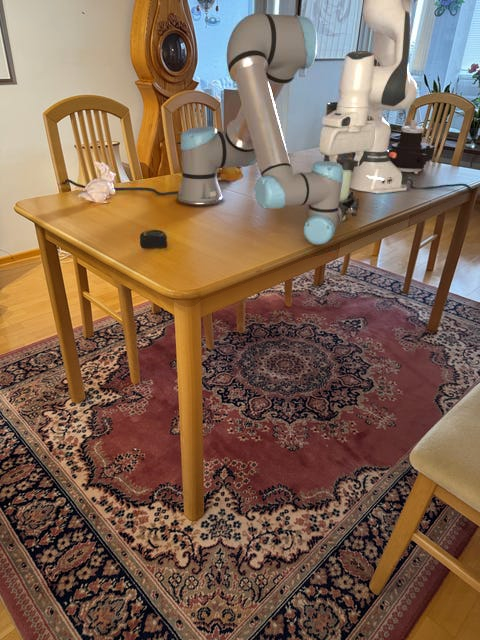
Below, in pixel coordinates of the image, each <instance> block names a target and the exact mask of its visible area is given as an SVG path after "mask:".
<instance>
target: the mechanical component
mask: <svg viewBox="0 0 480 640" xmlns="http://www.w3.org/2000/svg"><path fill="white" fill-rule="evenodd" d="M424 131H425V128H424V127H422V126H418V120H416V119H410V123H409V125H403V126H401V129H400V134H399V140H398V143H392V144H391V148H388V151H390V152H395V154H397V156H396V157H395V158H392V157H390V161H391V162H392V163H393V164H394V165H395V166H396V167H397V168H398V169H399V170H400V171H401V172H406V173H413V174H415V175H418V174H419V172H421V171H423V169H425V168H426V167H427V162H429V161H432V160H433V157H434V155H435V148H436V146H435V145H431V144H430V143H428V142H422V139H423V134H424Z"/></svg>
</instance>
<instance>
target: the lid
mask: <svg viewBox="0 0 480 640" xmlns="http://www.w3.org/2000/svg"><path fill="white" fill-rule="evenodd" d="M336 161H337V163H339V164H341V165H342V167H343V170H352V171H353V170H354V167H355V161H354V160H353V159H352V158H348V159H342V158H336Z"/></svg>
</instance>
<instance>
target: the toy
mask: <svg viewBox="0 0 480 640" xmlns="http://www.w3.org/2000/svg"><path fill="white" fill-rule="evenodd" d="M243 171H244V170H243V167H228V168H220V169H219V170H218V171H217V179H219V178H220V179H221V180H223V181H227V182H229V183H230V182H236V181H239V180H242V178H243V177H244V173H243Z"/></svg>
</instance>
